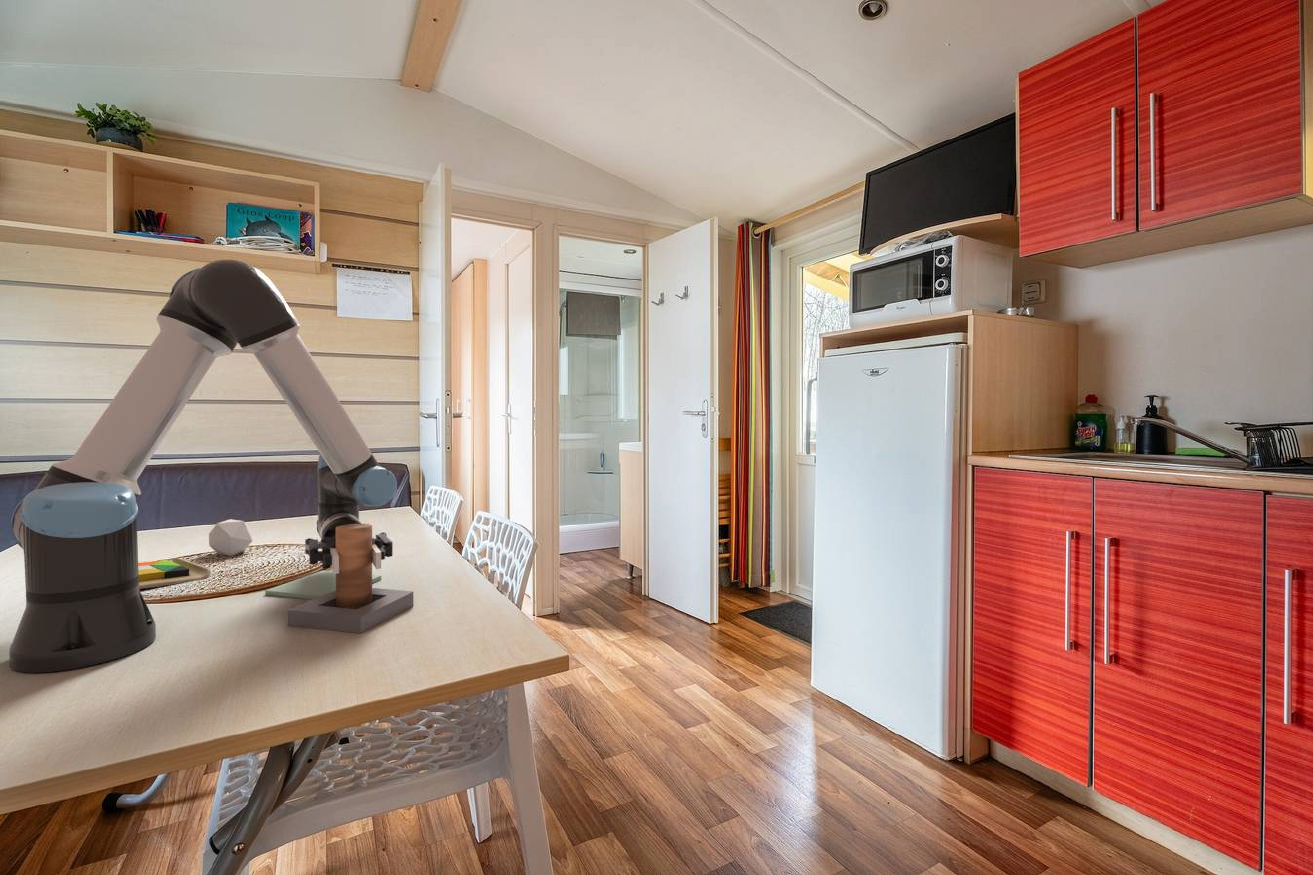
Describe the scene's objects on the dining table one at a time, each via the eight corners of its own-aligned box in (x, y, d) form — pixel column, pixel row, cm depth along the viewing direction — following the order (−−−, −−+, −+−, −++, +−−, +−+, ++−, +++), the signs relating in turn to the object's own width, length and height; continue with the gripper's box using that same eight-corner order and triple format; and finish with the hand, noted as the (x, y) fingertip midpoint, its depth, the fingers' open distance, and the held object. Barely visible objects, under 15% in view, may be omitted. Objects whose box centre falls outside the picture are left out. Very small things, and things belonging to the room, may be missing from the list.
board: (330, 601, 109) (330, 596, 109) (265, 594, 112) (265, 590, 112) (381, 579, 122) (381, 575, 122) (322, 574, 125) (322, 570, 125)
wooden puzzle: (213, 579, 123) (213, 562, 122) (90, 604, 107) (90, 585, 107) (178, 565, 132) (177, 550, 132) (60, 587, 116) (59, 569, 116)
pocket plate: (360, 633, 94) (360, 617, 94) (287, 625, 97) (287, 609, 97) (413, 605, 107) (413, 591, 107) (347, 599, 110) (347, 585, 110)
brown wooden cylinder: (356, 609, 99) (356, 530, 98) (328, 606, 100) (327, 528, 99) (379, 599, 104) (379, 524, 103) (351, 596, 105) (351, 522, 105)
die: (261, 554, 143) (259, 518, 147) (236, 544, 135) (234, 506, 140) (227, 567, 142) (225, 531, 147) (199, 557, 135) (199, 519, 139)
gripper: (394, 549, 122) (418, 578, 102) (287, 560, 112) (291, 594, 92) (394, 513, 121) (418, 534, 102) (287, 520, 111) (290, 545, 92)
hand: (357, 562), depth 97 cm, fingers closed on brown wooden cylinder, 5 cm apart
